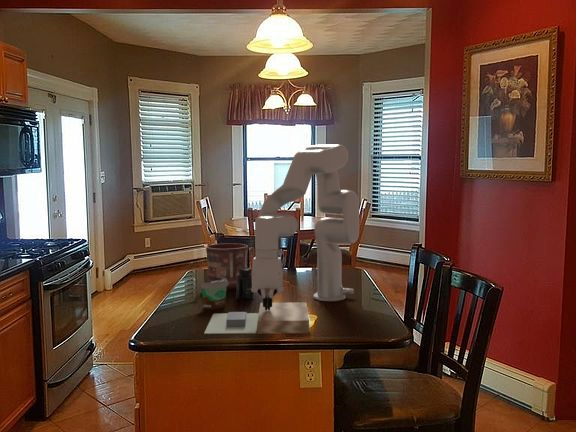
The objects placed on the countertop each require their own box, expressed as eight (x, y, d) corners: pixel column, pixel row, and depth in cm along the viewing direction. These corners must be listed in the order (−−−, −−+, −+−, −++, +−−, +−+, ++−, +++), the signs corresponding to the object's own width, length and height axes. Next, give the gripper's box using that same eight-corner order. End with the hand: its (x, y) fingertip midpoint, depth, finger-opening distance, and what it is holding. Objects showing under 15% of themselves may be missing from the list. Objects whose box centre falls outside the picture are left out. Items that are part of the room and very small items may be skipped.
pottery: (238, 293, 217) (237, 249, 216) (199, 290, 223) (199, 247, 221) (254, 284, 234) (254, 244, 232) (218, 281, 239) (218, 242, 238)
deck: (306, 313, 186) (306, 302, 185) (309, 333, 164) (309, 320, 163) (260, 314, 186) (260, 302, 185) (257, 333, 164) (257, 320, 163)
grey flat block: (228, 312, 178) (228, 319, 178) (226, 319, 169) (226, 327, 169) (246, 311, 178) (246, 319, 178) (245, 319, 169) (245, 327, 170)
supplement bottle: (251, 301, 203) (251, 270, 202) (234, 300, 205) (233, 270, 204) (256, 297, 210) (255, 267, 209) (239, 296, 211) (239, 266, 210)
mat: (259, 314, 186) (259, 313, 186) (255, 333, 164) (255, 332, 164) (213, 314, 185) (213, 313, 185) (204, 334, 164) (204, 333, 164)
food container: (214, 312, 189) (213, 284, 188) (201, 309, 192) (200, 282, 191) (235, 304, 199) (235, 278, 198) (222, 302, 202) (222, 276, 201)
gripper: (289, 252, 176) (290, 306, 178) (245, 252, 176) (246, 306, 178) (289, 255, 169) (290, 312, 171) (243, 256, 169) (244, 312, 171)
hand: (267, 309), depth 174 cm, fingers closed
